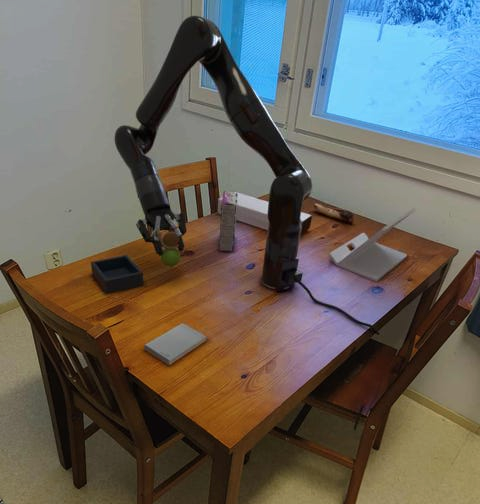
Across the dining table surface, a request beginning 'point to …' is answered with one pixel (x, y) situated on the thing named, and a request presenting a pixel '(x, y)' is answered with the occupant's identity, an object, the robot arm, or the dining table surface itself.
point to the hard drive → (175, 343)
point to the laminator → (258, 212)
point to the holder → (117, 274)
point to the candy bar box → (228, 221)
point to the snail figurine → (169, 248)
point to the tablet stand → (369, 254)
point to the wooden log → (335, 213)
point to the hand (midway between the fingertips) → (171, 252)
